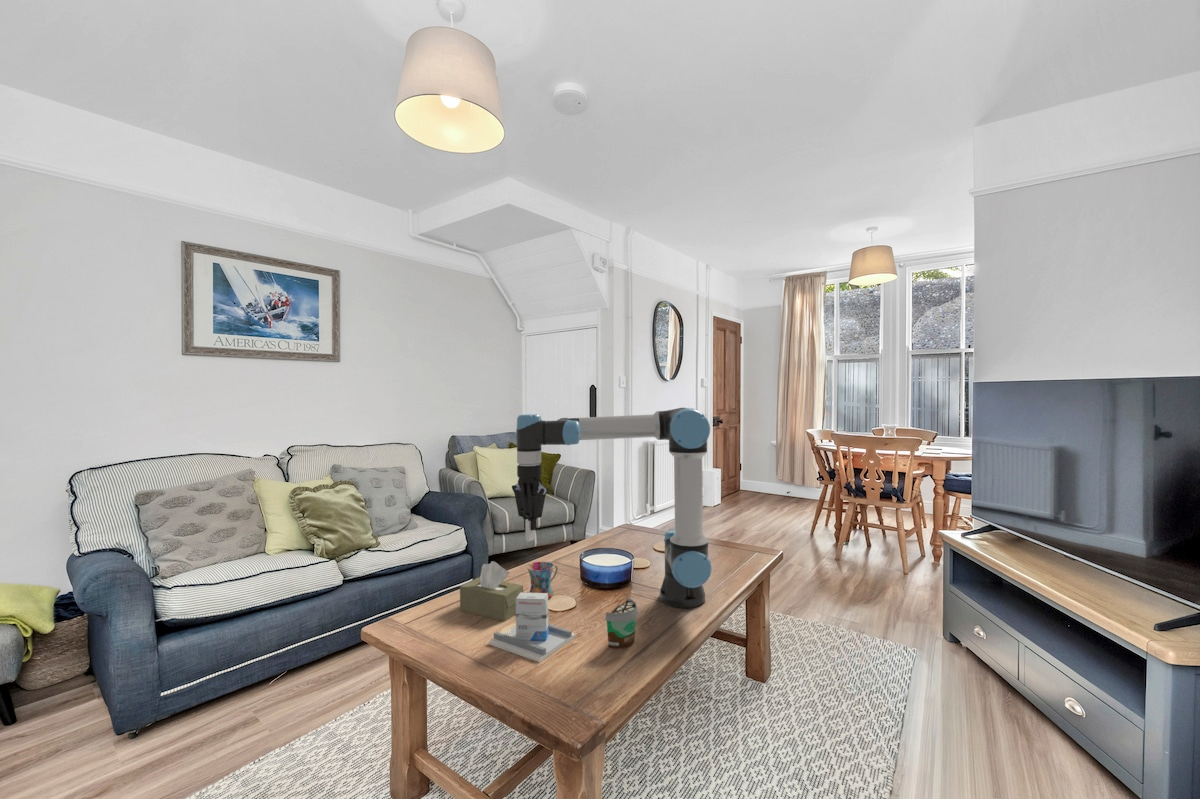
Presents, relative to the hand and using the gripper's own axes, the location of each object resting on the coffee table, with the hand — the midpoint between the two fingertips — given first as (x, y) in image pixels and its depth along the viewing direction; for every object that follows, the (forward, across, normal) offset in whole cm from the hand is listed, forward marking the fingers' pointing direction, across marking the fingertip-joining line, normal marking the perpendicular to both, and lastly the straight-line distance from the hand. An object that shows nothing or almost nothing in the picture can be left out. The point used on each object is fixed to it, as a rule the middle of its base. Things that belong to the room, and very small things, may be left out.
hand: (530, 539), depth 158 cm
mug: (+25, +8, -16) cm, 30 cm away
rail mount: (+24, -10, +11) cm, 29 cm away
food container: (+25, -33, -2) cm, 41 cm away
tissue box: (+25, +15, +2) cm, 29 cm away
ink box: (+24, -10, +11) cm, 28 cm away
